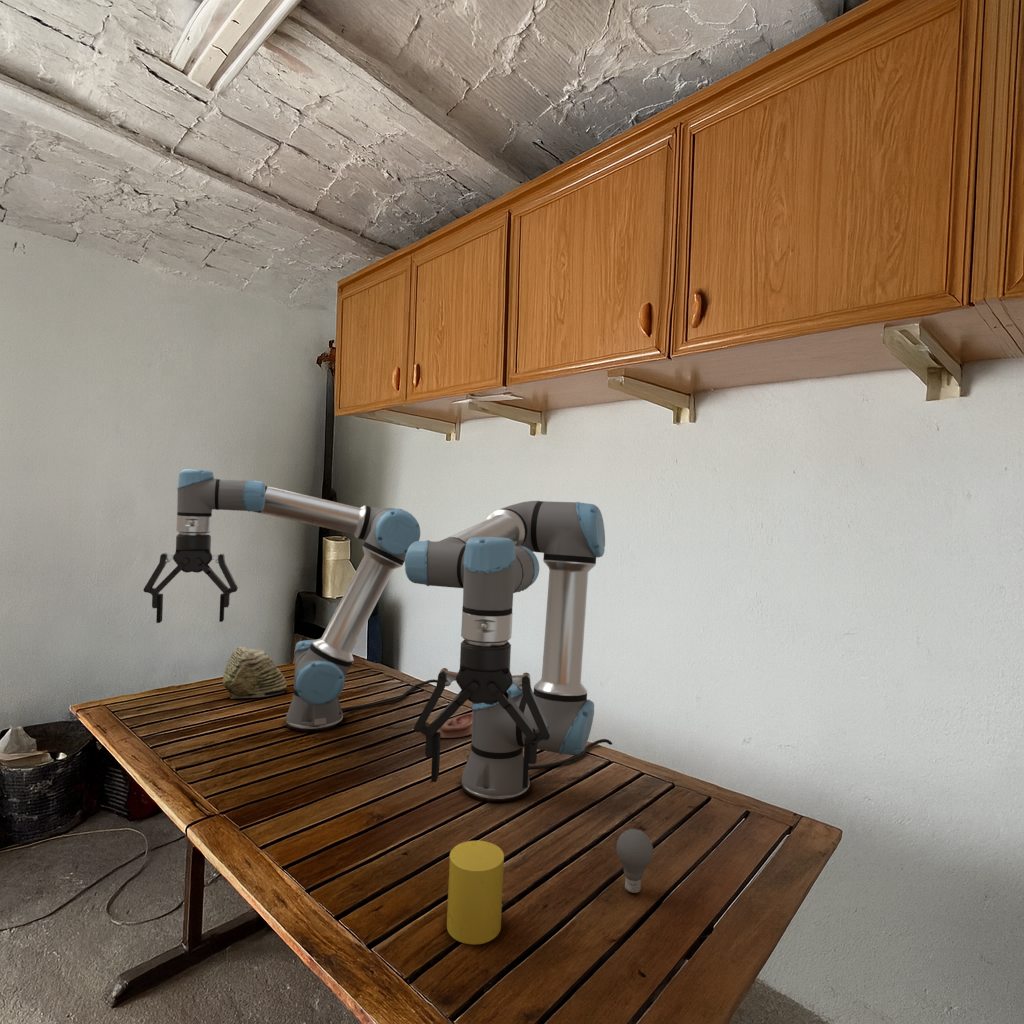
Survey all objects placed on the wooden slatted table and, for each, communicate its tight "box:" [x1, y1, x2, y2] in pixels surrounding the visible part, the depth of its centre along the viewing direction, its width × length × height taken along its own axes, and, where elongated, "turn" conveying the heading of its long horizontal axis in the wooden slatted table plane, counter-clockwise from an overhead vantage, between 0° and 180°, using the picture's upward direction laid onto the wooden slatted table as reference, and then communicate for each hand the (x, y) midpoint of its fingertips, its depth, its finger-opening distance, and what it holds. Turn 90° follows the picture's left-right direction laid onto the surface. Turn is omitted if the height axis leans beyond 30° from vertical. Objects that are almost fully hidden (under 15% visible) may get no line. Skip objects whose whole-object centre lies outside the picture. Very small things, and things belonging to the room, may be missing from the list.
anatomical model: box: [437, 712, 472, 739], centre depth 174 cm, size 13×4×12 cm
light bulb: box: [615, 828, 654, 894], centre depth 106 cm, size 6×6×10 cm
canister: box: [446, 840, 505, 946], centre depth 95 cm, size 8×8×11 cm
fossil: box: [222, 646, 288, 699], centre depth 198 cm, size 9×18×15 cm, turn 132°
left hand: (190, 621), depth 153 cm, fingers open, 13 cm apart
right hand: (480, 781), depth 95 cm, fingers open, 13 cm apart
